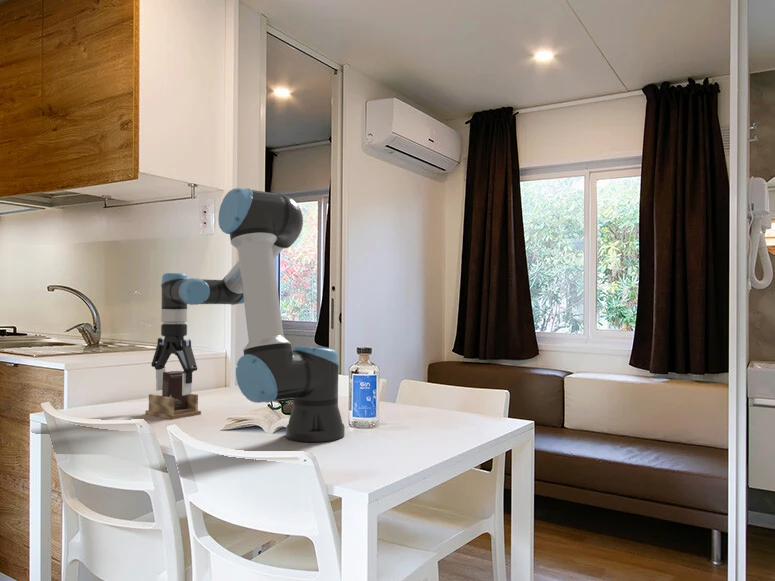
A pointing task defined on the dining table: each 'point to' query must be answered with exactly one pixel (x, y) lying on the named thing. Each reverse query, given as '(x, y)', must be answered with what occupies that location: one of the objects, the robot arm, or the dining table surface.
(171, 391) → the box
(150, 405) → the holder
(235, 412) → the dining table surface
